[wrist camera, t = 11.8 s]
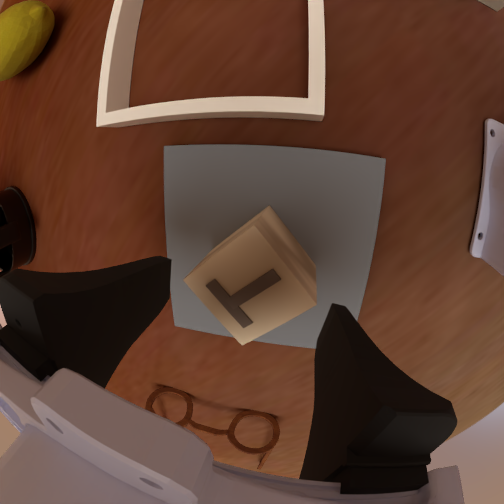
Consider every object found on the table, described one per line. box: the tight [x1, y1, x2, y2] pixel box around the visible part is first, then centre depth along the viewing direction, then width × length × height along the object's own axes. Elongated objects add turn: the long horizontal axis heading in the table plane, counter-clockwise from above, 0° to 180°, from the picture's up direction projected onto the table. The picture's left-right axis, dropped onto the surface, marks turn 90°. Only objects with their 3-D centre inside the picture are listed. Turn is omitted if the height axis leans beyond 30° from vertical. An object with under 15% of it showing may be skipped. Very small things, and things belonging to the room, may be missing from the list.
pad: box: [164, 144, 386, 349], centre depth 17 cm, size 13×13×1 cm
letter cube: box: [183, 205, 317, 345], centre depth 14 cm, size 4×4×5 cm
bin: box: [96, 0, 325, 127], centre depth 11 cm, size 14×14×2 cm
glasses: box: [145, 387, 280, 469], centre depth 24 cm, size 13×13×5 cm
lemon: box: [0, 0, 55, 81], centre depth 11 cm, size 11×8×8 cm
